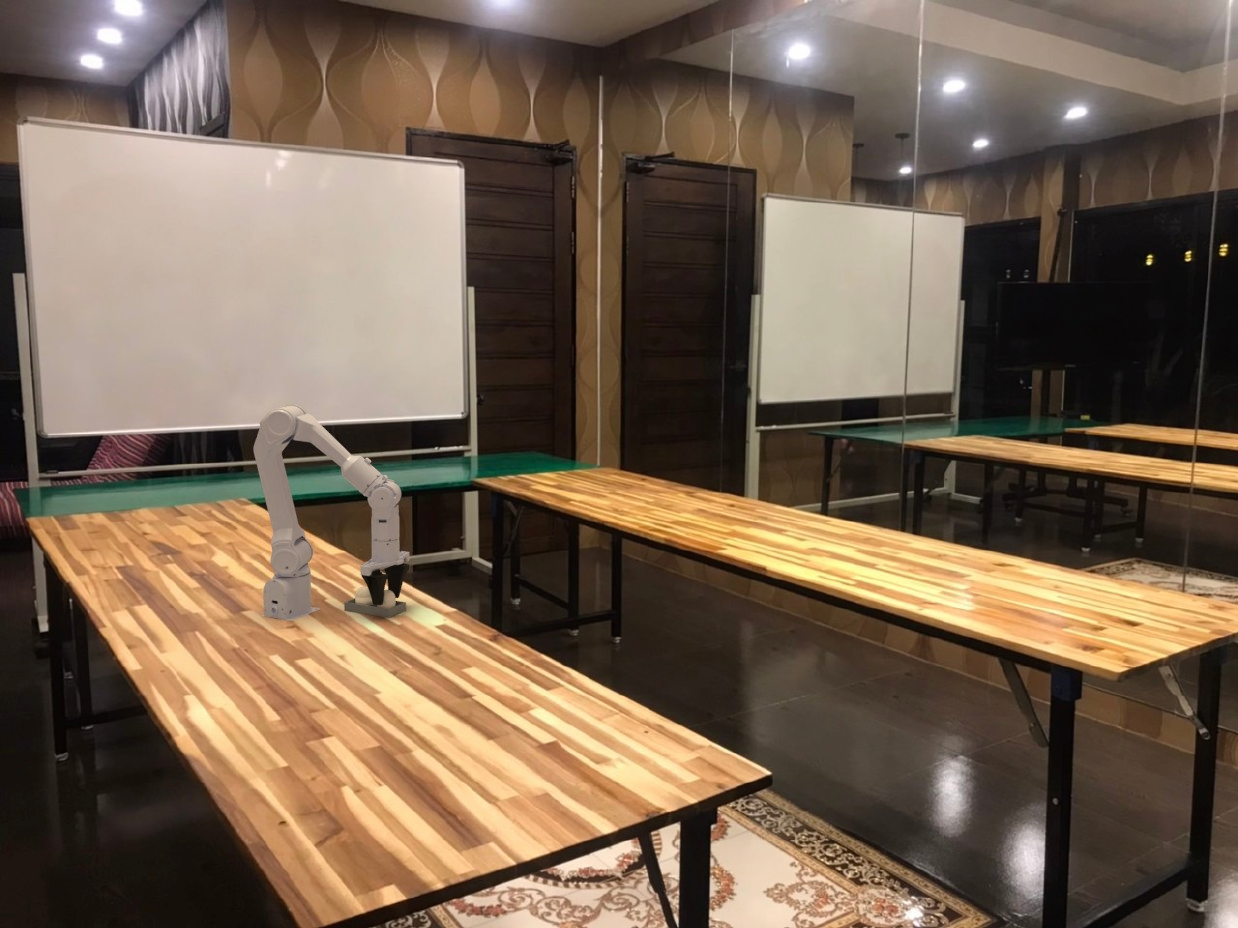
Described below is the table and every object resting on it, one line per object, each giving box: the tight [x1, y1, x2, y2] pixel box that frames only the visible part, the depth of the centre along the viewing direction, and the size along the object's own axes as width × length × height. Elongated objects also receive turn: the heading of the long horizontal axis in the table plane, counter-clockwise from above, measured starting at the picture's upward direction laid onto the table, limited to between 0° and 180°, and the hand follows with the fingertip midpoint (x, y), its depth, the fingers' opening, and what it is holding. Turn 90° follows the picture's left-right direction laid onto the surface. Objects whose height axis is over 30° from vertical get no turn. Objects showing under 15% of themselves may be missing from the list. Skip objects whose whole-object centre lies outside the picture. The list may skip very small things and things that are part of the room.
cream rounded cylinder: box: [377, 589, 397, 609], centre depth 199 cm, size 4×4×5 cm
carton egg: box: [354, 585, 373, 605], centre depth 201 cm, size 4×4×5 cm
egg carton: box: [343, 597, 407, 619], centre depth 200 cm, size 6×12×2 cm, turn 68°
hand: (386, 600), depth 199 cm, fingers open, 5 cm apart
